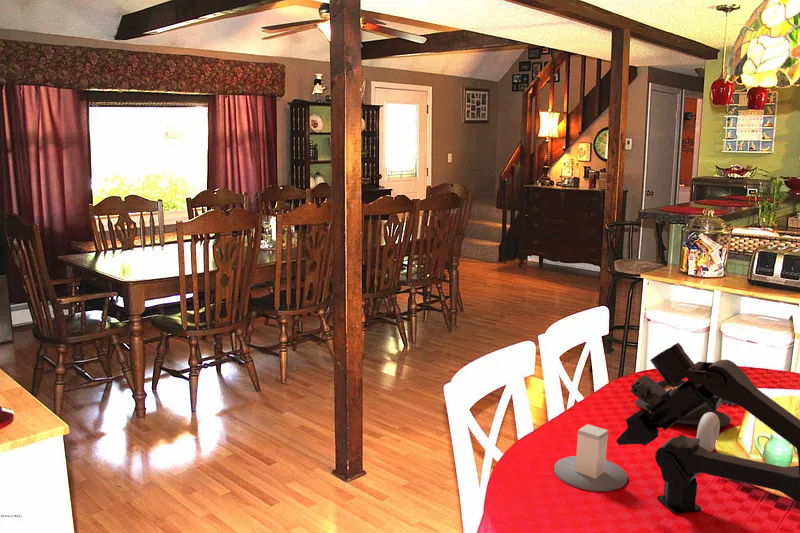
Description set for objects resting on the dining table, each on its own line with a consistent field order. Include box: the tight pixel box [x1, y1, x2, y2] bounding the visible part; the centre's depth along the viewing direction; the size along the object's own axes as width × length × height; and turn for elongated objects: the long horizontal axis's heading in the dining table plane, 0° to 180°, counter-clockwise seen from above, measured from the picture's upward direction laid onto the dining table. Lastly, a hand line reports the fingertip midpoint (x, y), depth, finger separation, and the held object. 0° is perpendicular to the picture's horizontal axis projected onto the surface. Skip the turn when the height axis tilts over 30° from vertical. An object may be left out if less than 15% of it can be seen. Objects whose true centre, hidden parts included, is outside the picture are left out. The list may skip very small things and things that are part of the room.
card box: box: [575, 423, 609, 479], centre depth 161 cm, size 5×4×10 cm
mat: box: [553, 455, 628, 492], centre depth 162 cm, size 16×16×1 cm
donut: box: [696, 412, 721, 452], centre depth 174 cm, size 10×3×10 cm, turn 141°
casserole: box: [634, 379, 732, 428], centre depth 196 cm, size 25×19×8 cm
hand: (626, 436), depth 155 cm, fingers open, 9 cm apart
